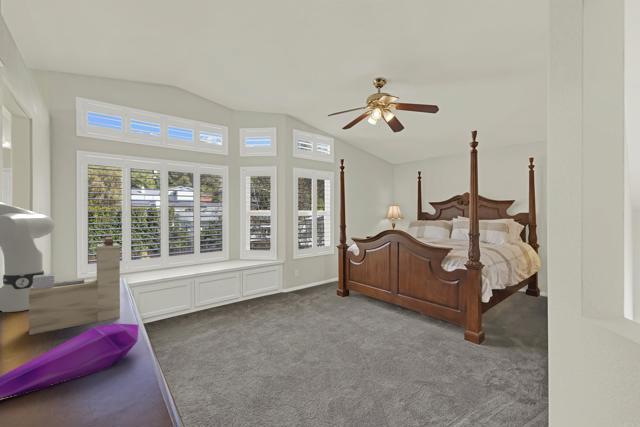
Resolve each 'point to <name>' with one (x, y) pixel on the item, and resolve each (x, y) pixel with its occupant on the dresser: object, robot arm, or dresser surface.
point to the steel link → (50, 282)
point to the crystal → (72, 359)
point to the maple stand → (79, 296)
